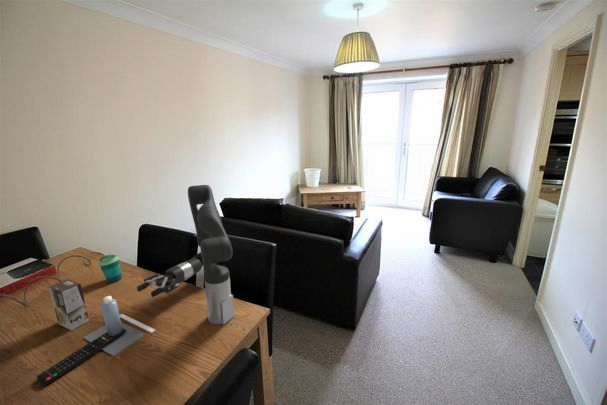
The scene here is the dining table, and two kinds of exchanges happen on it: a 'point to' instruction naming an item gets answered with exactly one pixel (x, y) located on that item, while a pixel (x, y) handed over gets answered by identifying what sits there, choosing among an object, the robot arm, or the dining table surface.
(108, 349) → the mat
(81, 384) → the dining table surface
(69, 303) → the coffee box
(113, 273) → the cup
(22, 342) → the dining table surface
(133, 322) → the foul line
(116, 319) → the slim bottle
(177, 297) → the dining table surface
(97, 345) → the remote control
